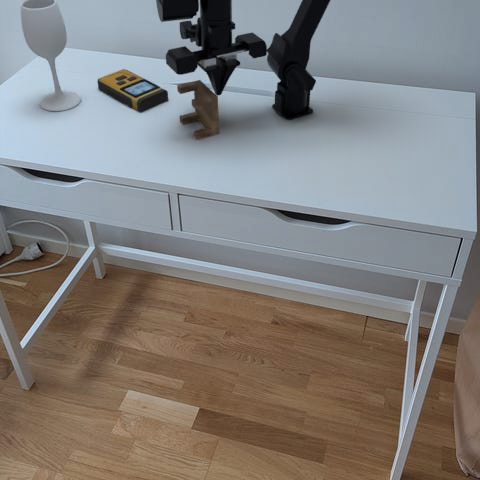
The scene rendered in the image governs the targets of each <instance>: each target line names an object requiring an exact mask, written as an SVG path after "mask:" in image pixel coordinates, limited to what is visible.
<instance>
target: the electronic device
mask: <svg viewBox="0 0 480 480" xmlns="http://www.w3.org/2000/svg"><path fill="white" fill-rule="evenodd" d="M97 87H98V90H99V89H100V90H99V91H101V92H102V91H103V92H102V93H104V94H106V95H108V96H109V95H110V97H111V96H112V97H111V98H113V99H115V100H117V101H118V100H119V102H120V101H121V102H120V103H121V104H124V105H125V104H126V106H127V105H128V106H127V107H129V108H131V109H134V110H136V111H138V112H139V113H144V112H146V111H148V110H150V109H153V108H154V107H157V106H159V105H162V104H164V103H166V102H168V101H169V92H168V90H166V89H164V88H162V87H161V86H159V85H157V84H156V83H154V82H151V81H149V80H148V79H146V78H144V77H142V76H139V75H138V74H136V73H134V72H132V71H130V70H128V69H126V68H123V69H122V68H121V69H120V70H117V71H114V72H112V73H109V74H107V75H104V76H101V77H99V78H97Z"/></svg>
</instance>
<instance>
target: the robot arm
mask: <svg viewBox="0 0 480 480" xmlns="http://www.w3.org/2000/svg"><path fill="white" fill-rule="evenodd" d="M155 2H156V3H155V4H156V9H157V13H158V14H157V15H158V18H159V20H160V23H163V22H165V23H166V22H174V21H179V34H180V38H181V40H188V39H189V41H190V43H193V42H195V46H196V47H198V48H199V47H201V49H200V50H194V51H191V50H190V49H189V48H188V47H187V46H185V45H184V46H181V47H175V48H169V49H168V50H167V52H166V54H165V63H166V65H167V66H168V68H170V69H171V70H172V71H173V72H174V73H175V74H176V75H180V76H181V75H187V74H192V73H194V72H196V70H197V69H198V67H199V68H201V70H203V72H205V73H206V75H207V77H208V80H209V83H210V84H211V87H212V88H213V93H214V94H216V95H217V96H221V95H222V94H223V91H224V90H225V88H226V85H227V84H228V81H229V80H230V77H231V75H233V73H234V72H235V69H236V68H237V67H240V66H241V61H239V60H238V54H240V53H244V52H245V53H246V52H248V55H249V56H250V57H251V58H252V59H258V58H262V57H266V56H267V57H266V61H267V64H268V66H269V68H270V69H271V70H272V72H273V73H274V74H275V76H276V77H277V78H278V79H279V81H278V82H277V84H276V90H275V92H274V103H273V104H272V107H271V108H273V109H274V110H275V111H276V112H277V113H279V115H281V116H282V117H283V118H285V120H291V119H295V118H299V117H302V116H306V115H310V114H313V113H314V109H313V108H311V107H310V101H311V91H313V89H314V86H315V85H316V83H317V80H316V79H315V78H314V76H313V75H311V73H310V72H309V71H308V70H307V66H308V64H309V60H310V53H311V42H312V39H313V37H314V35H315V33H316V30H317V29H318V27H319V25H320V23H321V21H322V19H323V17H324V15H325V13H326V11H327V8H328V7H329V4H330V3H331V0H302V1H301V2H300V5H299V6H298V9H297V11H296V13H295V15H294V17H293V20H292V22H291V24H290V26H289V27H288V29H287V30H286V31H285V32H283V33H282V34H279V33H278V32H275V33H274V35H273V36H272V41H271V44H270V45H269V47H267V46H268V45H267V43H266V41H265V40H264V39H263V38H261V37H259V36H258V35H257V34H256V33H254V32H248V33H244V34H243V33H242V34H237V35H236V36H235V38H234V42H233V30H236V23H235V22H234V21H233V15H232V14H233V8H232V7H233V0H156V1H155ZM198 12H199V14H200V15H199V17H197V19H196V23H194V24H193V22H192V20H193V18H194V17H196V16H197V13H198ZM191 19H192V20H191ZM182 20H183V21H182Z"/></svg>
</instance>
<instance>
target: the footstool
mask: <svg viewBox="0 0 480 480" xmlns="http://www.w3.org/2000/svg"><path fill="white" fill-rule="evenodd" d="M176 87H177V88H176V89H177V92H178V93H179V95H183V94H186V93H191V92H193V93H194V94H193V95H194V98H193V99H191V106H192V107H193V109H194V110H195V111H193V112H189V113H185V114H183V115H179V122H180V123H181V125H185V124H189V123H193V122H197V121H198V122H199V123H200V124H201V125H202V126H203V127H202V128H198V129H196V130H193V137H194V138H195V140H196V141H197V140H200V139H204V138H209V137H210V136H211V137H212V136H214V135H215V136H216V135H218V134H220V123H219V121H220V120H219V97H218V96H219V95H218V96H217V95H216V94H215V92H214V91H212V89H210V88H209V87H208V86H207V84H205V83H204V82H203V81H202V80H201V79H198V80H194V81H190V82H185V83H181V84H178V85H177V86H176Z"/></svg>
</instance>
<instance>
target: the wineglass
mask: <svg viewBox="0 0 480 480" xmlns="http://www.w3.org/2000/svg"><path fill="white" fill-rule="evenodd" d="M20 21H21V28H22V32H23V37H24V41H25V42H26V43H25V44H27V47H28V48H29V49H30V51H32V53H34V54H35V55H36V56H38V57H39V58H42V59H45V60H46V61H47V62H48V65H49V68H50V71H51V75H52V81H53V86H54V92H51V93H48V94H46V95H45V96H43V97H42V98H41V99H40V101H39V106H40V108H42V109H43V110H46V111H49V112H63V111H67V110H70V109H74V108H75V107H76V106H78V105H79V104H80V103H81V101H82V97H81V96H80V95H79V93H76V92H73V91H67V90H62V89H61V85H60V82H59V77H58V74H57V73H58V72H57V68H56V58H57V57H59V56H60V54H62V53H63V52H64V50H65V48H66V45H67V42H68V41H67V40H68V39H67V37H68V36H67V35H68V34H67V30H66V29H67V28H66V24H65V21H64V17H63V15H62V12H61V9H60V6H59V5H58V3H57V1H56V0H24V1H22V2H21V3H20Z"/></svg>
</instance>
